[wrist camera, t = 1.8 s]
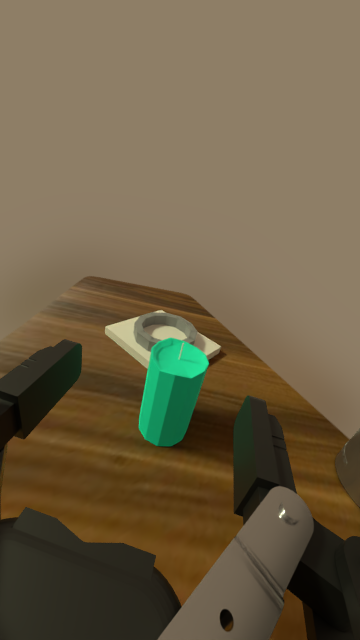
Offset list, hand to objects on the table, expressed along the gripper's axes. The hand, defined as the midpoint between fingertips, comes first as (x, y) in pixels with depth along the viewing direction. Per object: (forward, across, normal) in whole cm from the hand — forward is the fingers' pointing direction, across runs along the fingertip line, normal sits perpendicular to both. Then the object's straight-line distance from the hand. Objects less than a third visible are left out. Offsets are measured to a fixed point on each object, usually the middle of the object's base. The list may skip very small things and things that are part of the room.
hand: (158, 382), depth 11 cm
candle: (+11, 0, +17) cm, 20 cm away
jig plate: (+28, +4, +17) cm, 33 cm away
